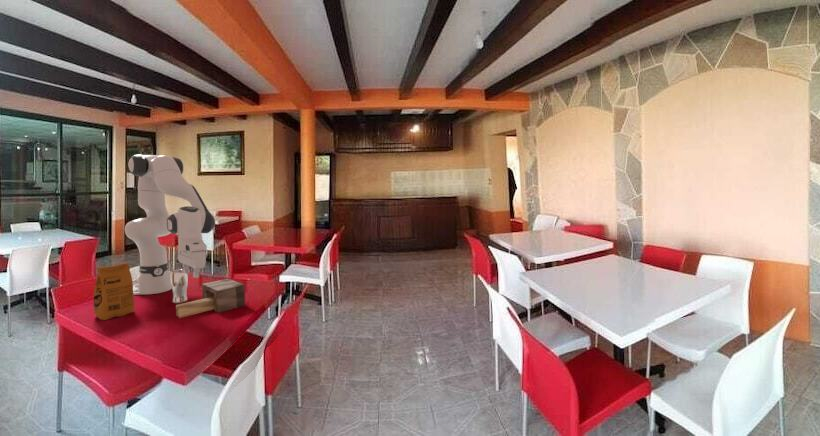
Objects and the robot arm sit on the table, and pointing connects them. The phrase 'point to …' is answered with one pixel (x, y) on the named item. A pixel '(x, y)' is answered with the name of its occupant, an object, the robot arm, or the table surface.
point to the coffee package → (113, 292)
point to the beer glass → (179, 285)
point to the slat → (195, 307)
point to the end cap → (225, 294)
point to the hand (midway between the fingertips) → (191, 275)
